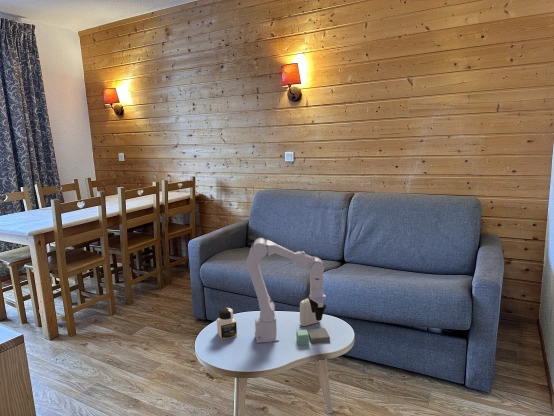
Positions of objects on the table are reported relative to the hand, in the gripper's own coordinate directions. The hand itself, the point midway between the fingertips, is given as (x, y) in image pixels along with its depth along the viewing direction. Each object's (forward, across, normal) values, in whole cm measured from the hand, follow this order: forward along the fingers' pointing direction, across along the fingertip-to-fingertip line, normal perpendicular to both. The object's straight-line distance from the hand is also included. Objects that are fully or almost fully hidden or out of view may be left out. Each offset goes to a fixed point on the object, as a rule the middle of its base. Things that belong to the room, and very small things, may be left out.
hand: (316, 316), depth 165 cm
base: (+10, -1, 0) cm, 10 cm away
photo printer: (+10, +13, 0) cm, 16 cm away
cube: (+10, -3, +7) cm, 12 cm away
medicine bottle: (+10, +9, +39) cm, 41 cm away
